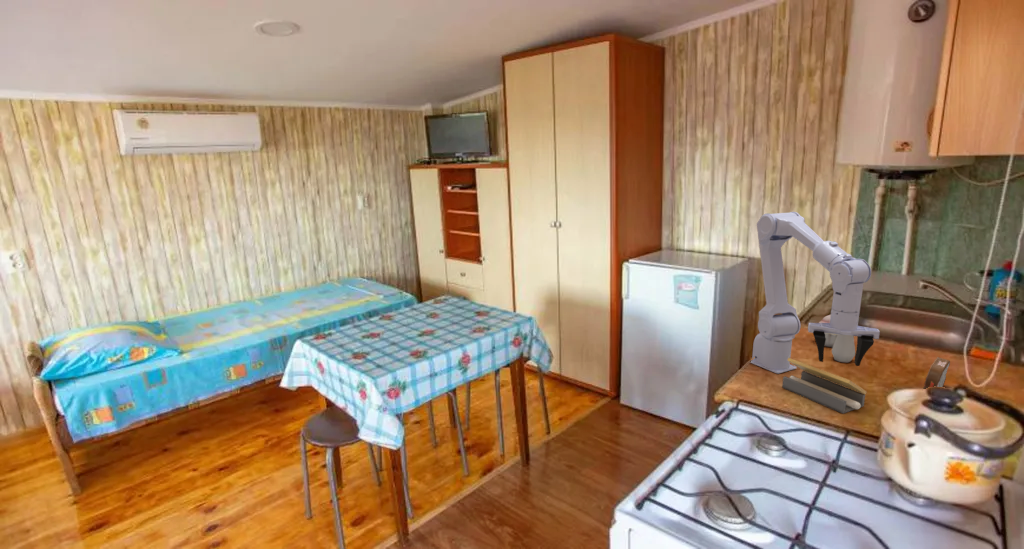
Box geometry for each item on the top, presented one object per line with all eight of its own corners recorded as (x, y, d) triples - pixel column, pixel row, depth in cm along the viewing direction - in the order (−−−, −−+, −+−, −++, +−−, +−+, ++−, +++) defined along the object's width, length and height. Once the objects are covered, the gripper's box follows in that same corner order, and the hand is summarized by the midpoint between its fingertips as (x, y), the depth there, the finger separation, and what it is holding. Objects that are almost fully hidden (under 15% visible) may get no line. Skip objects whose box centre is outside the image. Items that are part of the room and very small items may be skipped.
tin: (932, 382, 138) (937, 352, 136) (947, 385, 135) (952, 355, 133) (919, 401, 128) (924, 369, 126) (935, 405, 125) (941, 372, 124)
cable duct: (780, 386, 137) (781, 376, 136) (800, 380, 140) (802, 370, 140) (848, 416, 121) (850, 404, 121) (869, 408, 125) (871, 396, 124)
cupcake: (850, 344, 165) (854, 313, 163) (840, 351, 159) (844, 320, 157) (818, 336, 172) (821, 307, 170) (807, 344, 166) (810, 314, 164)
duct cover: (787, 360, 135) (788, 357, 135) (803, 370, 139) (805, 368, 139) (848, 383, 121) (850, 380, 121) (865, 394, 125) (866, 391, 125)
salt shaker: (847, 356, 156) (853, 314, 153) (858, 363, 150) (863, 320, 147) (827, 356, 156) (831, 314, 153) (836, 363, 151) (841, 320, 148)
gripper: (813, 311, 124) (806, 364, 127) (885, 317, 119) (877, 372, 122) (809, 303, 130) (803, 353, 134) (878, 308, 125) (870, 361, 128)
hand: (838, 362), depth 128 cm, fingers open, 7 cm apart
